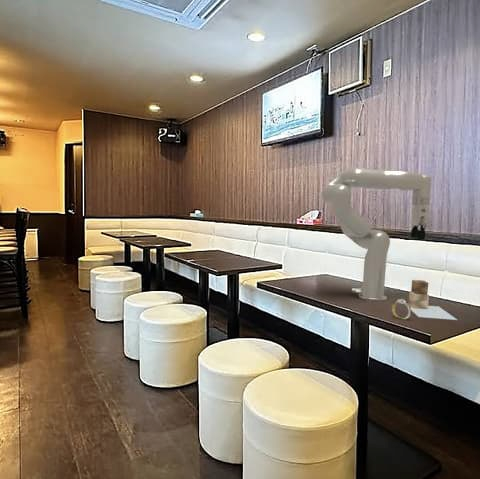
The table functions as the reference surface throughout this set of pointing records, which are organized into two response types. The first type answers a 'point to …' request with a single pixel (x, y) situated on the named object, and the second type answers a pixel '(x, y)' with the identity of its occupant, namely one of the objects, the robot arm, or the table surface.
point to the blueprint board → (433, 313)
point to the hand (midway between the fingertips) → (417, 238)
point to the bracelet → (401, 303)
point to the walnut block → (419, 287)
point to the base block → (418, 300)
